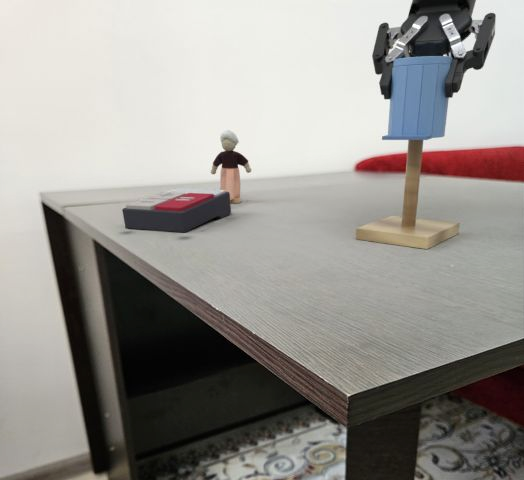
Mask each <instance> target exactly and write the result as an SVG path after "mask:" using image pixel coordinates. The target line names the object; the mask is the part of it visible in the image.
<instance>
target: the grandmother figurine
mask: <svg viewBox="0 0 524 480" xmlns="http://www.w3.org/2000/svg"><path fill="white" fill-rule="evenodd" d="M219 139H220V143H221V147H222V149H223V151H220V152H219V153H218V154H217V155H216V157H215V159H214V160H213V162H212V166H211V169H210V174H211V175H216V173H217V170H218V169H219V167H220V166H221V168H220V175H219V177H220V181H219V184H220V186H219V187H220V188H219V190H226V192H229V193H230V204H241V202H242V201H241V199H240V198H241V174H240V173H241V172H240V168H239V166H241V167H243V168H244V169H245V172H246V173H247V174H249V173H251V172H252V168H251V167H250V166H251V165H250V164H249V159H247V158H246V156H244V155H243V154H241V152H238V151H235V149H236V146H237V145H238V144H239V143H240V141H239V138H238V137H237V135H236V133H234V132H233V131H231V130H229V129H228V130H224V131H222V132H221V134H220V138H219Z"/></svg>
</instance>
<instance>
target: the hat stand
mask: <svg viewBox="0 0 524 480" xmlns="http://www.w3.org/2000/svg"><path fill="white" fill-rule="evenodd" d="M423 149H424V140H407V150H406V151H407V153H406V165H405V175H404V189H403V199H402V200H403V201H402V213H401V216H399V215H398V216H397V215H389V216H387V217H384V218H381V219H377V220H375V221H373V222H369V223H367V224H364V225H361V226H358V227H356V228H355V240H357V241H366V242H374V243H380V244H387V245H394V246H401V247H408V248H416V249H423V250H429V249H430V248H433V247H435V246H437V245H439V244H441V243H443V242H445V241H447V240H449V239H451V238H453V237H455V236H457V235H459V231H460V223H461V222H455V221H446V220H436V219H427V218H419V217H417V215H418V214H417V212H418V201H419V191H420V181H421V171H422V170H421V169H422V162H423V161H422V160H423Z"/></svg>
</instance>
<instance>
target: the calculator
mask: <svg viewBox="0 0 524 480" xmlns="http://www.w3.org/2000/svg"><path fill="white" fill-rule="evenodd" d="M230 202H231V199H230V193H229V192H226V190H220V189H210V188H209V189H207V188H182V187H181V188H180V187H178V188H177V187H176V188H172V189H169V190H167V191H160V192H158V193H154V194H152V195H148V196H146V197H145V198H141V199H137V200H135V201H133V202H129V203H127V204H125V207H124V208H121V209H122V210H121V212H122V216H123V222H124V227H125V229H132V230H143V231H144V230H146V231H158V232H172V233H187V232H188V231H190V230H193V229H195V228H197V227H199V226H201V225H203V224H205V223H207V222H209V221H211V220H213V219H223V218H225V217H227V216H229V215H231V213H232V207H231V205H232V204H231V203H230Z"/></svg>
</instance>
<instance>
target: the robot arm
mask: <svg viewBox="0 0 524 480" xmlns="http://www.w3.org/2000/svg"><path fill="white" fill-rule="evenodd" d="M476 2H477V0H412V1H411V4H410V8H409V11H408V15H407V17H406V19H405V20H404V21H403V22H402V24H401V25H400V26H395V27H390V26H389V23H388V22H382V23H381V24H379V26H378V30H377V34H376V38H375V42H374V46H373V50H372V55H371V57H372V64H373V68H374V73H375V75H378V76H379V75H381V76H380V79H379V82H378V84H379V89H380V90H379V91H380V95H381V96H383V99H384V100H390V96H391V81H392V68H393V64H394V60H395V59H400V58H409V57H424V56H450V57H452V62H451V65H450V69H449V72H448V75H447V79H446V83H445V95H446V98H449V99H450V98H451V99H452V98H453V97H454V94H458V92H459V91H460V90H461V89H462V88H461V87H462V84H463V80H464V76H465V73H466V72H467V71H468V70H470V69H473V70H476V71H478V70H481V69H483V68H484V66H485V63H486V60H487V57H488V55H489V52H490V49H491V47H492V44H493V42H494V38H495V35H496V20H497V19H496V13H494V12H489V13H486V14H485V15H484V17H483V19H473V13H474V9H475V5H476ZM471 34H473V35H474V39H475V41H474V44H473V47H472V49H470V50H466V48H465V46H464V44H463V41H465V40H466V39H467V38H468V37H470V36H471ZM395 44H396V45H395ZM394 45H395V47H394ZM390 50H391V51H390Z"/></svg>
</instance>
